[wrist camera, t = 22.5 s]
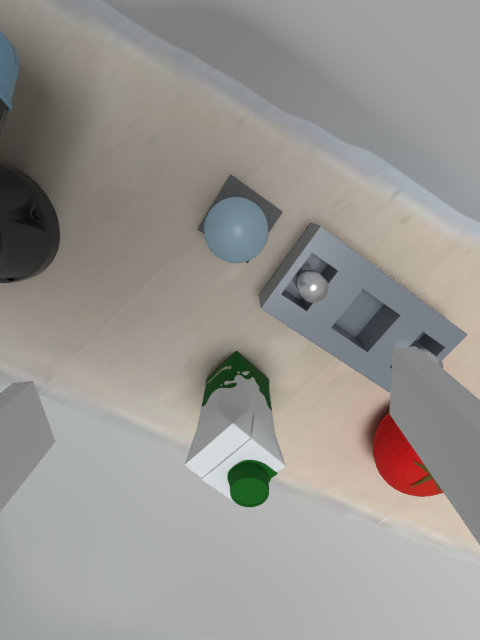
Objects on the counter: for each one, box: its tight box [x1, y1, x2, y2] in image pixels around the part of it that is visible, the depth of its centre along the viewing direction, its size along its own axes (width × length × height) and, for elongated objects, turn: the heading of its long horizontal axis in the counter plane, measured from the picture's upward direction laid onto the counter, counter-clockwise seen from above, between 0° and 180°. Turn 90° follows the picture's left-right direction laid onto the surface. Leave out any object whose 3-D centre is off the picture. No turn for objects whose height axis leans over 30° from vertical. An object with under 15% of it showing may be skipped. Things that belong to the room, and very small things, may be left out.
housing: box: [259, 223, 468, 393], centre depth 44 cm, size 24×12×6 cm, turn 56°
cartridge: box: [204, 197, 268, 263], centre depth 35 cm, size 5×5×16 cm
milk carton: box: [185, 351, 285, 507], centre depth 42 cm, size 9×9×20 cm
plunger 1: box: [292, 264, 329, 303], centre depth 40 cm, size 3×3×7 cm
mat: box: [197, 175, 282, 263], centre depth 43 cm, size 8×8×1 cm
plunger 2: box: [409, 340, 443, 369], centre depth 43 cm, size 3×3×7 cm
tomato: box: [373, 412, 444, 497], centre depth 49 cm, size 14×13×10 cm
